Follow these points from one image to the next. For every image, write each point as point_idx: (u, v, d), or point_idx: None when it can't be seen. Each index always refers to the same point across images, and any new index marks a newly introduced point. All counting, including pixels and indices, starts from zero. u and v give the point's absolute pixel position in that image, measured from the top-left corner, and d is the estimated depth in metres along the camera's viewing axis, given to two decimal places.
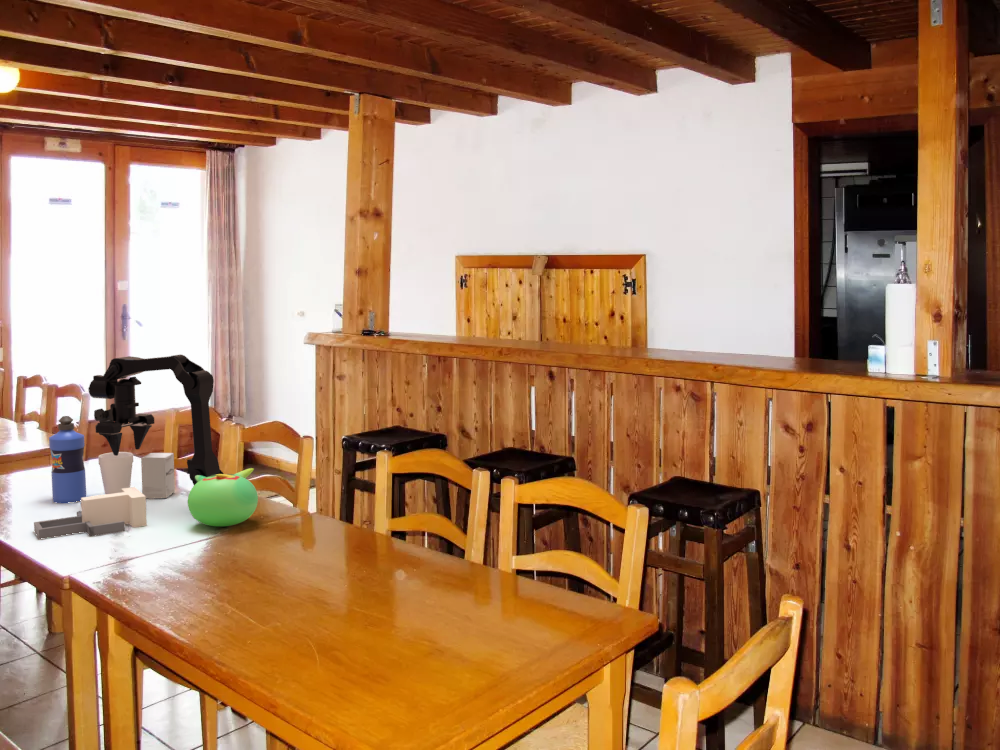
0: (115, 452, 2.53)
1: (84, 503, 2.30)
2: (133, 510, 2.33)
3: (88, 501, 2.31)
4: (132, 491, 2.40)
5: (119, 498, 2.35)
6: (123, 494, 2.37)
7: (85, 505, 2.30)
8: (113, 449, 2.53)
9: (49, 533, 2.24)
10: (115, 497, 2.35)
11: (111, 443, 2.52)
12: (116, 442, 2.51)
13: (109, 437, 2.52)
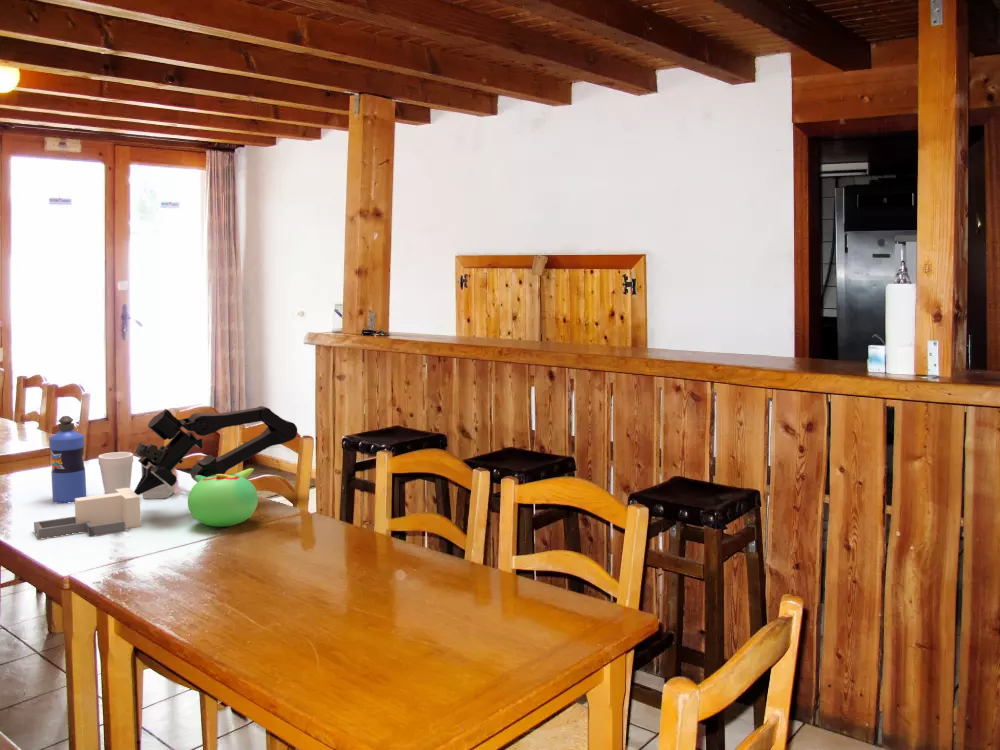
0: (139, 492, 2.39)
1: (78, 503, 2.29)
2: (127, 511, 2.33)
3: (82, 502, 2.30)
4: (126, 492, 2.39)
5: (112, 499, 2.34)
6: (117, 495, 2.36)
7: (79, 506, 2.30)
8: (140, 489, 2.39)
9: (49, 533, 2.24)
10: (109, 498, 2.34)
11: (145, 483, 2.39)
12: (152, 487, 2.40)
13: (149, 478, 2.39)
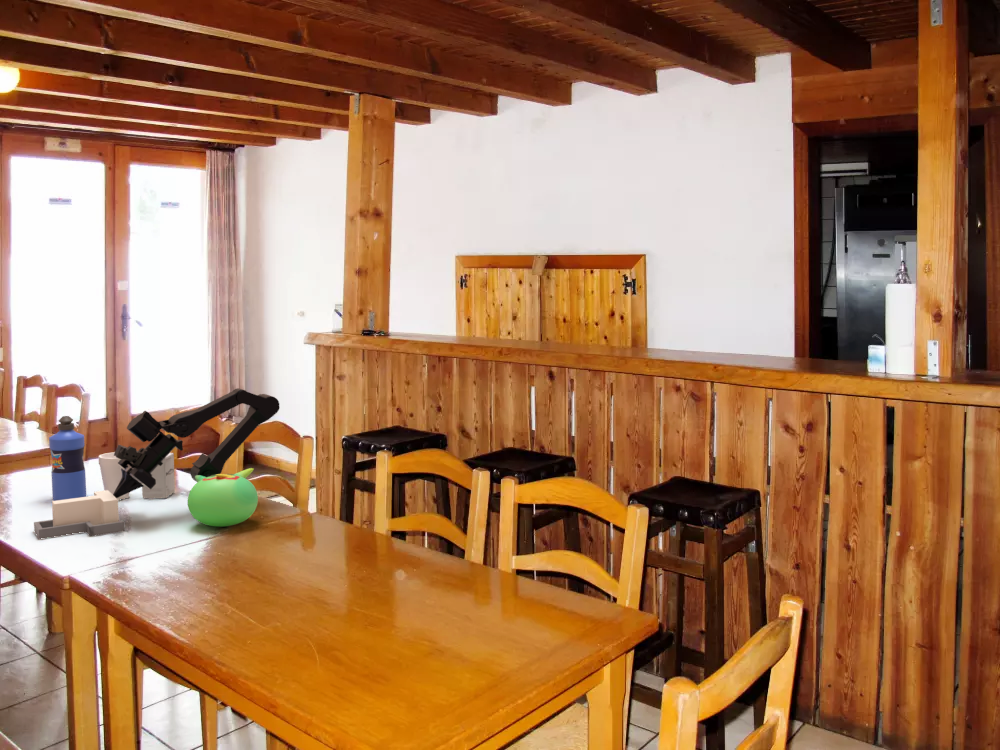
0: (118, 495, 2.36)
1: (55, 506, 2.26)
2: (105, 514, 2.30)
3: (59, 505, 2.27)
4: (105, 494, 2.36)
5: (90, 501, 2.31)
6: (95, 497, 2.33)
7: (56, 509, 2.26)
8: (119, 492, 2.36)
9: (49, 533, 2.24)
10: (87, 500, 2.31)
11: (124, 486, 2.36)
12: (131, 489, 2.37)
13: (128, 480, 2.36)
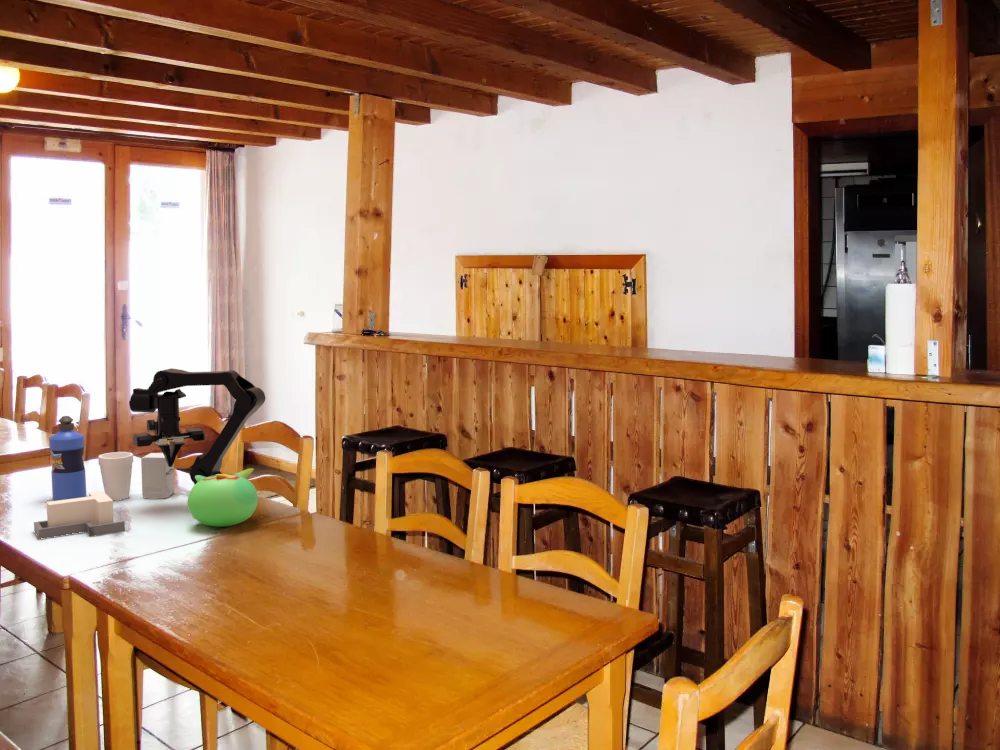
0: (167, 463, 2.51)
1: (50, 507, 2.26)
2: (100, 515, 2.29)
3: (53, 505, 2.26)
4: (100, 495, 2.35)
5: (85, 502, 2.30)
6: (90, 498, 2.32)
7: (50, 510, 2.26)
8: (166, 460, 2.51)
9: (49, 533, 2.24)
10: (81, 501, 2.30)
11: (164, 454, 2.51)
12: (165, 454, 2.49)
13: (162, 448, 2.51)
